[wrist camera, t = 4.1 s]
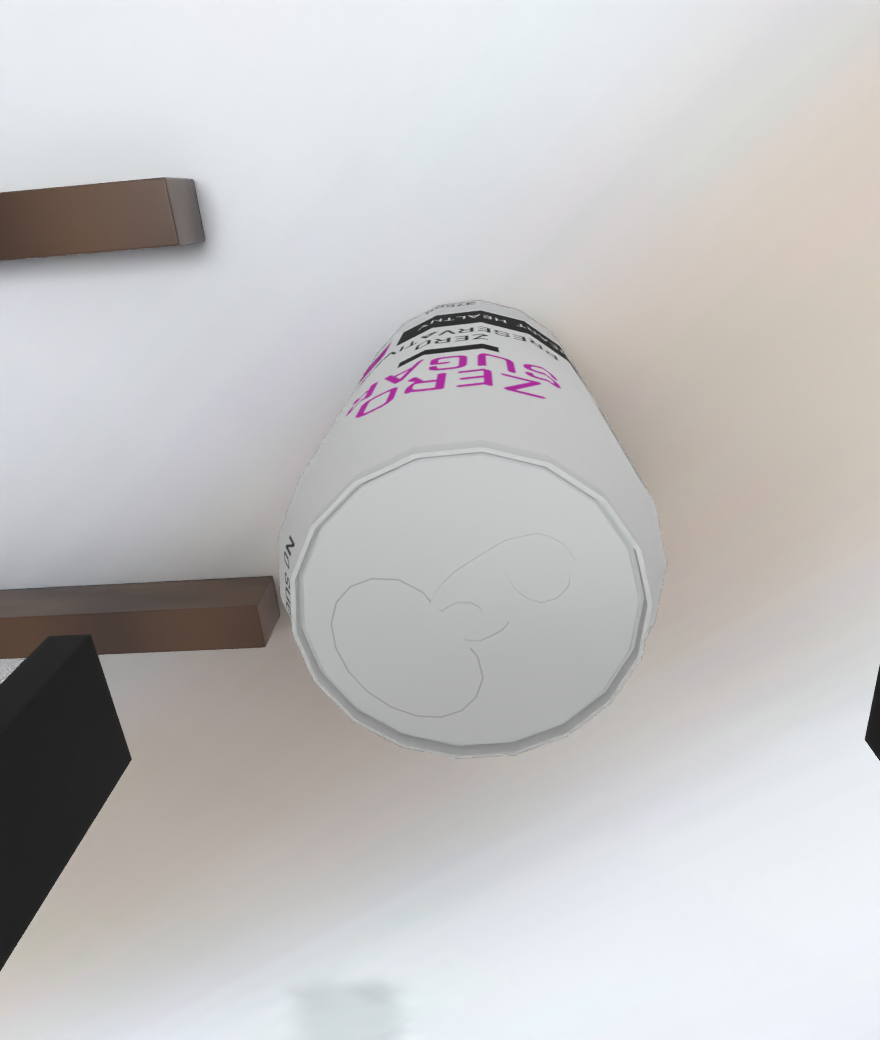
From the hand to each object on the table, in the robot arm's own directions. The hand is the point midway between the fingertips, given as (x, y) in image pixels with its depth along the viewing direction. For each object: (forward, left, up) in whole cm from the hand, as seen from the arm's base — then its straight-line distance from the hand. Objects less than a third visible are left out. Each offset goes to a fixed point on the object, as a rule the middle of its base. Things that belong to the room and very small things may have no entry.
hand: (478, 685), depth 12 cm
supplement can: (0, 0, -17) cm, 17 cm away
